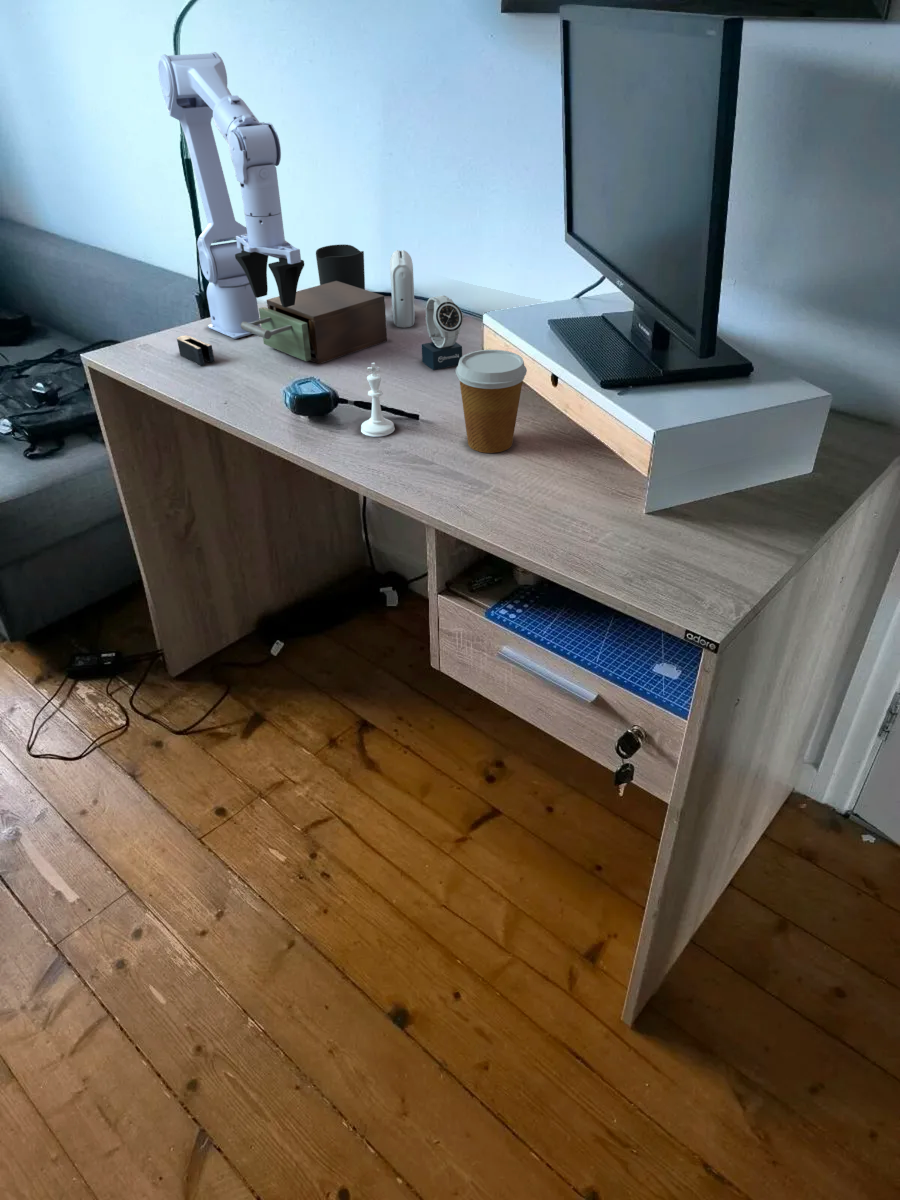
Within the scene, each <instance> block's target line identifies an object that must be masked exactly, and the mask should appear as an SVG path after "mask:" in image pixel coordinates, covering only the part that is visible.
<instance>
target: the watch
mask: <svg viewBox="0 0 900 1200" xmlns="http://www.w3.org/2000/svg"><path fill="white" fill-rule="evenodd" d="M424 317H425V324H426V329H427V334H428V336H429V339H431V342H425V343H421V363H422V364H424V365H425V366H427V367H428V368H430V369H431V370H433V371H436V370H441V369H445V368H446V369H447V368H452V367H457V366H458V364H459V360H460V358H461V357H462V356H463V345H461V344H459V343H458V342H457V341H458V337H459V335H460V333H461V327H462V325H463V322H464V317H465V314H464V312H462V309H461V308H460V307H459V305H458V304H457V303H455V302H454V301H453V299H452V298H450V297H448V296H447V295H438V296H432V297H429V298H428V299H427V301H426V304H425V315H424Z"/></svg>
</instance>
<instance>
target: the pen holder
mask: <svg viewBox="0 0 900 1200" xmlns="http://www.w3.org/2000/svg"><path fill="white" fill-rule="evenodd" d="M315 258H316V265H317V266H316V267H317V273H318V279H319V285H323V284H326V283H330V282H334V281H339V282H342V283H345V284H348V285H351V286H355V287H358V288H361V289H364V290H366V278H365V252H364V250H362V251H361V250H359V249H358V248H357V247H355V246H354V245H351V244H330V245H326V246H325V245H324V246H322V247H320V248H317V249H316V251H315Z"/></svg>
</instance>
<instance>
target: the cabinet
mask: <svg viewBox="0 0 900 1200" xmlns="http://www.w3.org/2000/svg"><path fill="white" fill-rule="evenodd" d="M266 304H267V305H266V306H267V308H268V309H271V310H273V307H276V308H279V309H282V310H285V311H287V312H290V313H293V314H296V315H298V316H301V317H304V318H307V319H309V320H312V328H313V337H314V346H315V355H314V354H312V353H311V360H310V361H311V362H313V363H316V364H324V363H326V362H328V361H332V360H334V359H337V358H341V357H344V356H347V355H349V354H350V355H351V354H353V353H355V352H358V351H360V350H361V351H362V350H365V349H367V348H370V347H374V346H376V345H379V344H382V343H385V342H388V332H387V331H388V330H387V313H386V298H385V295H383V294H380V293H376V292H374V291H371V290H367V289H365V290H364V289H361V288H358V287H355V286H351V285H348V284H345V283H342V282H339V281H334V282H330V283H326V284H323V285H320V284H319V285H315V286H312V287H308V288H305V289H301V290H297V291H296V299H295V305H293V306H289V307H283V306H282V304H281V301H280V297H279V295H278V296H275V297H272V298H268V299H266Z"/></svg>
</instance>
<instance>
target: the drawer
mask: <svg viewBox="0 0 900 1200" xmlns="http://www.w3.org/2000/svg"><path fill="white" fill-rule="evenodd" d="M258 312H259V319H260V320H257V321H253V322H250V323H248V322H246V321H243V322H242V323H241V328H242V329H243V330H245V331H248V332H250V333H253V334H252V335H255V336H258V337H260V338H262V341H263V345H265V346H267V347H270V348H273V349H274V350H277V351H280V352H282V353H284V354H287V355H290V356H292V357H294V358H297V359H299V360H302V361H304V362H308V361H311V353H312V354H314V355H315V346H314V337H313V328H312V320H309V319H307V318H304V317H301V316H298V315H296V314H293V313H290V312H287V311H285V310H282V309H279V308H276V307H273V310H271V309H268V307H265V306H263V307H258ZM259 324H261V327H262V328H261V327H258V326H256V325H259Z"/></svg>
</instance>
